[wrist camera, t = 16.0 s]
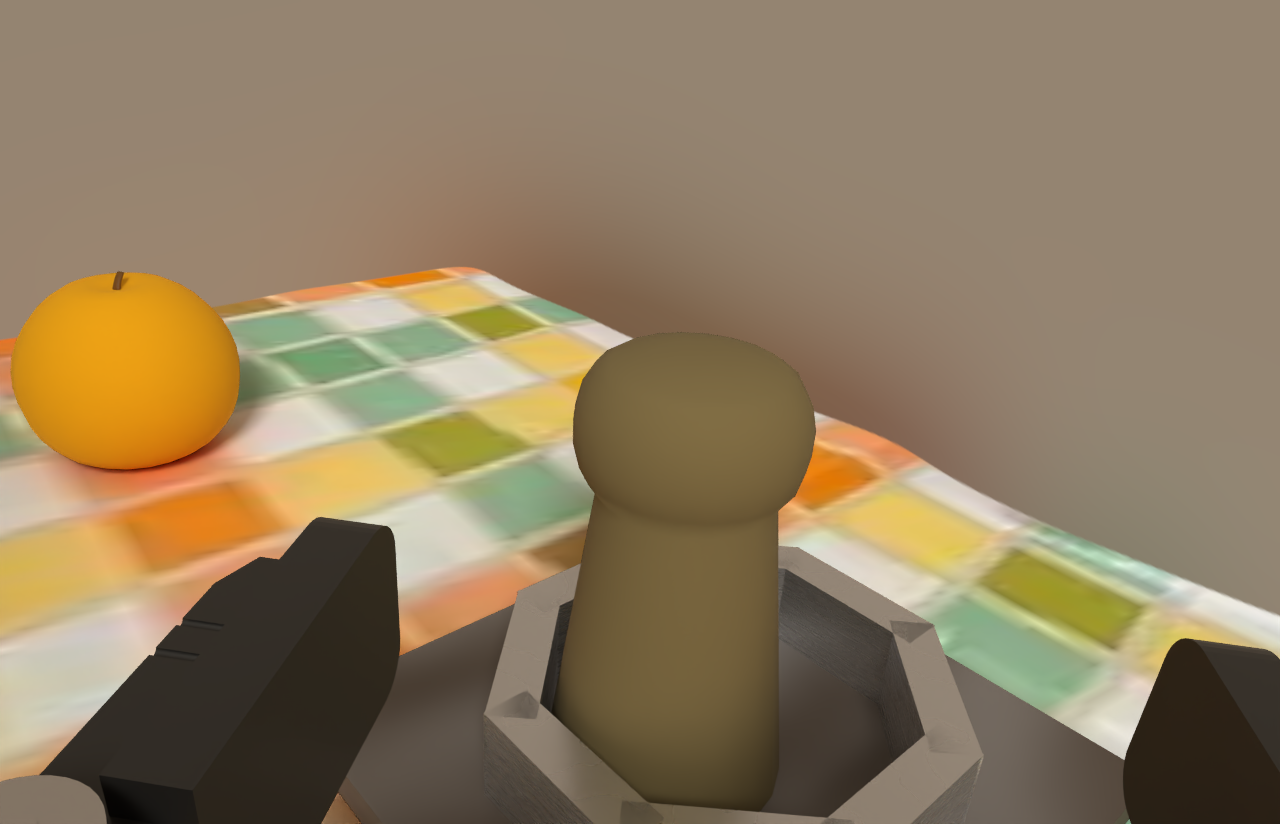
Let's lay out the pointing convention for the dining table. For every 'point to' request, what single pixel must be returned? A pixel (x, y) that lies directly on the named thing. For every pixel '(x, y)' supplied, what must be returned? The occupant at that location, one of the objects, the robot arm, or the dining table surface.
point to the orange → (125, 371)
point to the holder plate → (808, 745)
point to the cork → (683, 565)
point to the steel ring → (808, 622)
